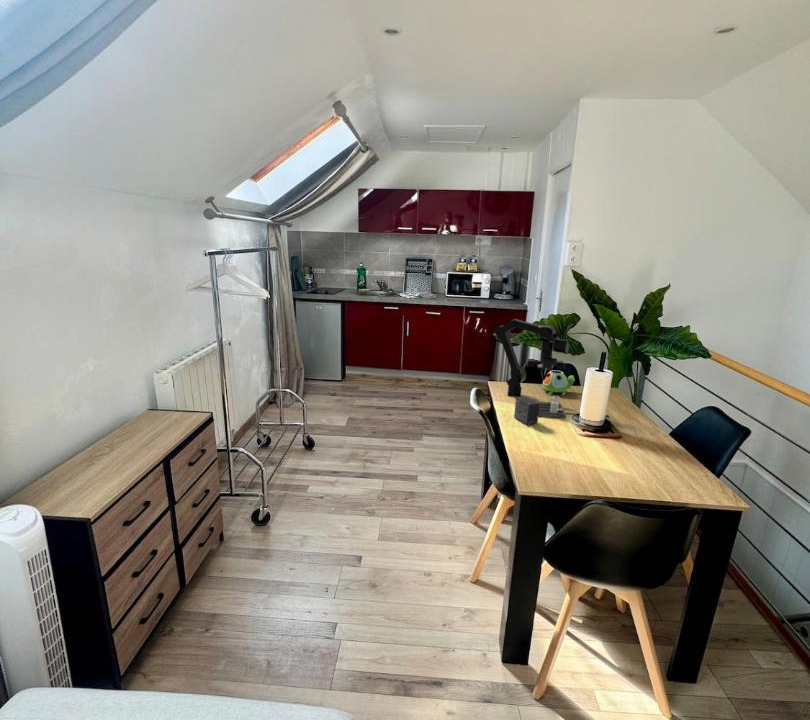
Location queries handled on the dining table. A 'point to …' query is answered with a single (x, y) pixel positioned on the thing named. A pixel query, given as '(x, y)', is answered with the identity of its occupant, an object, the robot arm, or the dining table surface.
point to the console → (545, 410)
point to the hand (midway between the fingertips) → (543, 379)
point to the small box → (526, 410)
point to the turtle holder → (557, 382)
